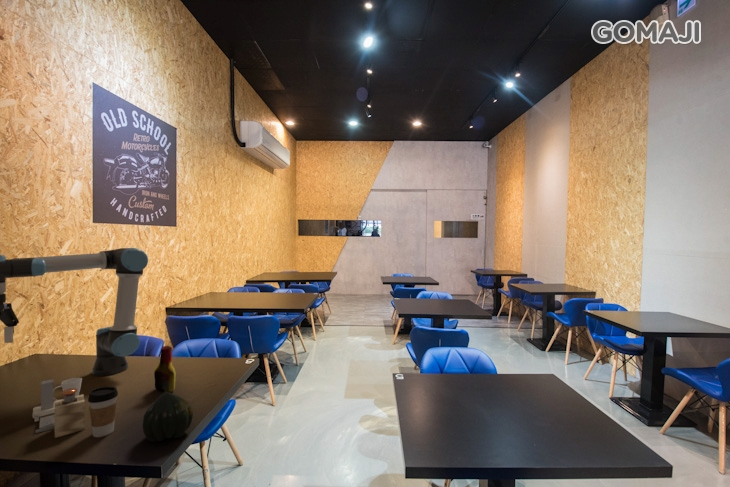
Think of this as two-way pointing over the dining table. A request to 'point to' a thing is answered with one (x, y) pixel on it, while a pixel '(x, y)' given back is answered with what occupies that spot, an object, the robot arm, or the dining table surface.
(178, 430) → the squash
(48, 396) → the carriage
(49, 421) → the rail
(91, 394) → the coffee cup
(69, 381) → the cup
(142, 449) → the dining table surface
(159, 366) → the bottle
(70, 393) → the button
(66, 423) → the beige box
